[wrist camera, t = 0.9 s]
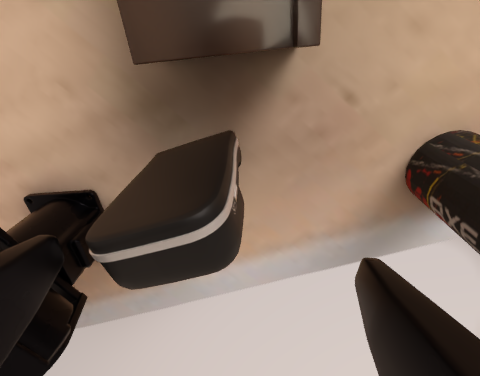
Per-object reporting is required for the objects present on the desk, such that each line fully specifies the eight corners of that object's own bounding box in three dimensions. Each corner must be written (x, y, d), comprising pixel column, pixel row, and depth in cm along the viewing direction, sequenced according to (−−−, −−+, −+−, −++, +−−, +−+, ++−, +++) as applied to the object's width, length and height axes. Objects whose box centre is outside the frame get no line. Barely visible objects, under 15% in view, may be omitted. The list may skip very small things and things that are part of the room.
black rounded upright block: (174, 192, 22) (110, 310, 12) (153, 152, 21) (60, 252, 11) (251, 170, 21) (251, 282, 11) (236, 126, 19) (219, 211, 9)
